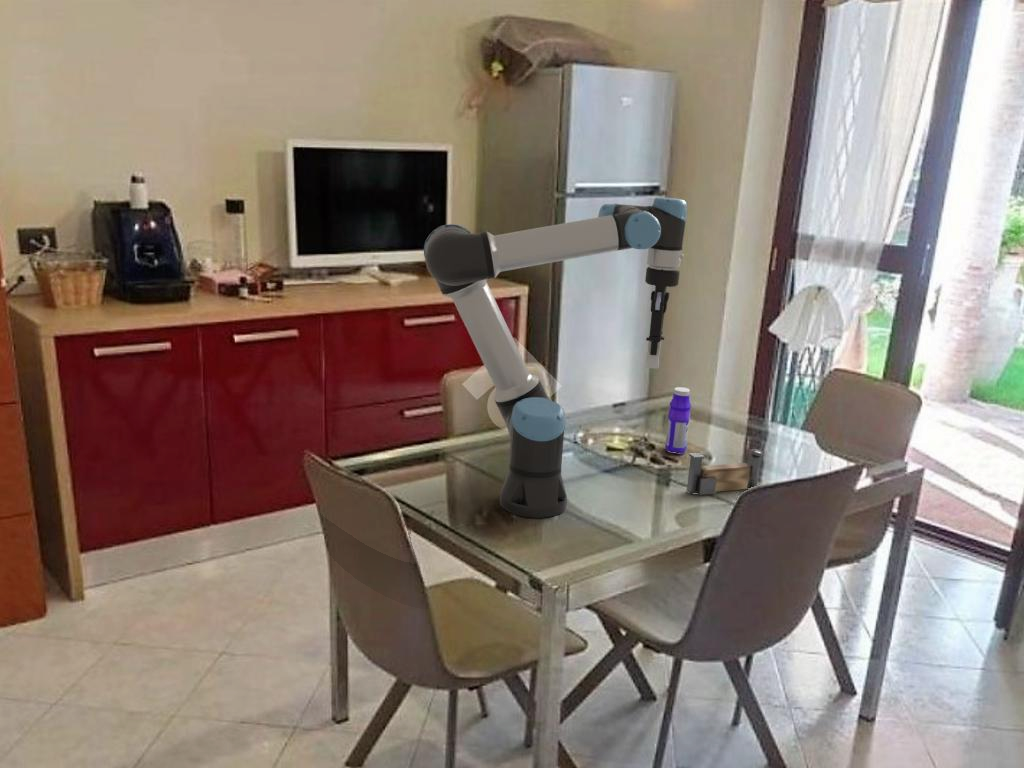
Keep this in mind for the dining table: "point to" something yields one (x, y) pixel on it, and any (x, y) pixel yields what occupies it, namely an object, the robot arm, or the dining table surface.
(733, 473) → the gate
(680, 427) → the bottle
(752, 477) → the hinge post
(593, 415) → the dining table surface
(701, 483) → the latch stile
